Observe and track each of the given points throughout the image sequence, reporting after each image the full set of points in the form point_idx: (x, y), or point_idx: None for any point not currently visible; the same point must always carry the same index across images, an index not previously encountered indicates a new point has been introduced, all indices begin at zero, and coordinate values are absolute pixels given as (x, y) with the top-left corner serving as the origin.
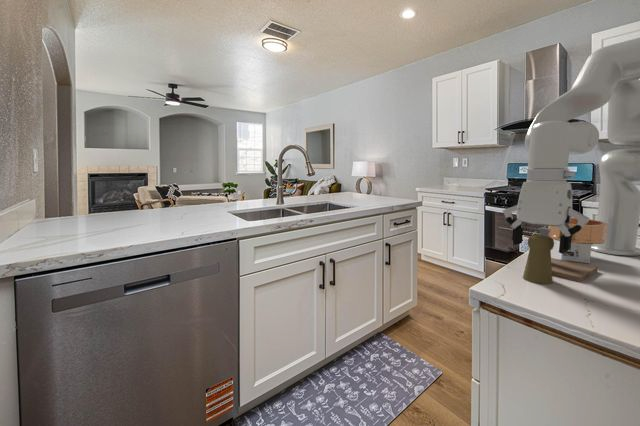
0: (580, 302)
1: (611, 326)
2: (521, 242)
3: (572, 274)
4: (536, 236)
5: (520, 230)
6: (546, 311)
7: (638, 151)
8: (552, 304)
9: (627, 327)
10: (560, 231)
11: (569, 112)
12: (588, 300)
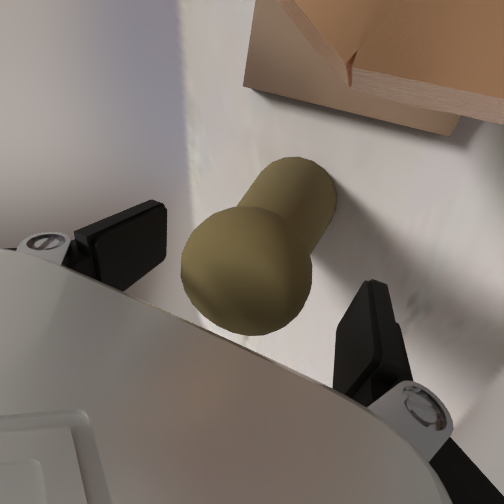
0: None
1: None
2: (164, 214)
3: (421, 109)
4: (211, 313)
5: (108, 269)
6: (321, 378)
7: None
8: (331, 351)
9: (457, 405)
10: (355, 84)
11: None
12: (418, 307)
